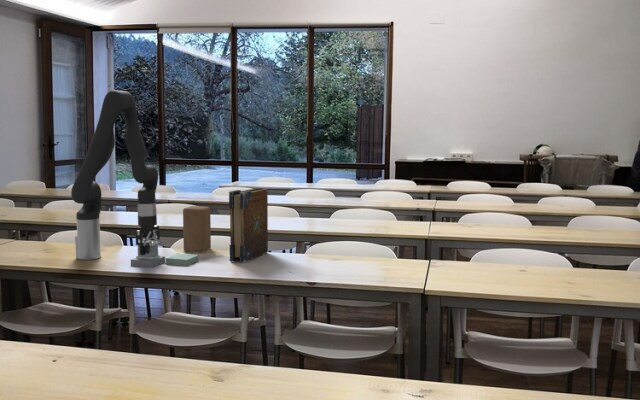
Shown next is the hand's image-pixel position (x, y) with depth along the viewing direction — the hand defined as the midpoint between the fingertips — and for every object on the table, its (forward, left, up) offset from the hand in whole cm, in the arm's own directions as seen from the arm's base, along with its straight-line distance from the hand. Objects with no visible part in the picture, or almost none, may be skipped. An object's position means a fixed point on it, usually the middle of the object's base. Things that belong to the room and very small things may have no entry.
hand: (148, 252), depth 249 cm
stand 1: (0, 0, -5) cm, 5 cm away
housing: (0, 0, -2) cm, 2 cm away
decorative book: (+35, +26, -5) cm, 44 cm away
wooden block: (+6, +32, -5) cm, 33 cm away
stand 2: (+12, +7, -5) cm, 14 cm away
